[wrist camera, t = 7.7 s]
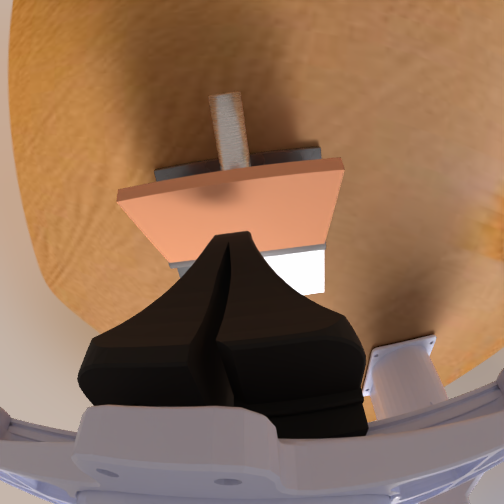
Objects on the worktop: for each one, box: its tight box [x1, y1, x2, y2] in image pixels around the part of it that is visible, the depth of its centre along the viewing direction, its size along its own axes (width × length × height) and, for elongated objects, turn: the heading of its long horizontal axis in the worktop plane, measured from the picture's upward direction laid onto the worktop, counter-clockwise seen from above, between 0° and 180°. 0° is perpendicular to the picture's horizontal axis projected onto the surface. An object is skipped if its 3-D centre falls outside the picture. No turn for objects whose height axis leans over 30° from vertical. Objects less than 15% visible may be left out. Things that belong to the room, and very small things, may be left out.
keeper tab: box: [117, 157, 345, 269], centre depth 15 cm, size 8×9×1 cm
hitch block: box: [154, 146, 324, 295], centre depth 22 cm, size 12×11×4 cm
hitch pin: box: [208, 91, 251, 171], centre depth 20 cm, size 17×4×4 cm, turn 7°
